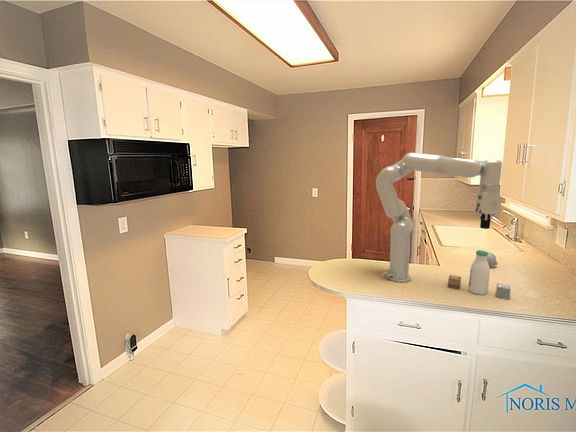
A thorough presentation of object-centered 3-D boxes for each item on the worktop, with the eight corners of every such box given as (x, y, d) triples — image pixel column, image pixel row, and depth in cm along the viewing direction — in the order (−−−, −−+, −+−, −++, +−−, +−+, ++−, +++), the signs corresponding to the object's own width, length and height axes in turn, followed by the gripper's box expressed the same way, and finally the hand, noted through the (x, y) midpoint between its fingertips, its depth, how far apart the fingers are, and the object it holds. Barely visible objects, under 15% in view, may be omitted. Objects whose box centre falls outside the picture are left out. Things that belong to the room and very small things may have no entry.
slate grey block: (509, 300, 134) (510, 289, 133) (495, 297, 137) (497, 286, 136) (508, 295, 138) (510, 285, 137) (495, 293, 141) (497, 283, 140)
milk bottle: (491, 293, 140) (496, 253, 136) (478, 296, 138) (483, 254, 134) (476, 287, 147) (481, 248, 144) (464, 289, 145) (468, 249, 141)
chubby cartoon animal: (474, 270, 177) (471, 258, 174) (488, 260, 180) (485, 248, 177) (485, 274, 170) (482, 261, 168) (500, 264, 173) (497, 251, 170)
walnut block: (459, 290, 145) (460, 280, 144) (447, 287, 148) (448, 277, 147) (460, 286, 149) (461, 276, 148) (449, 284, 152) (449, 274, 151)
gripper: (484, 189, 128) (479, 231, 131) (509, 188, 132) (504, 228, 136) (468, 188, 135) (464, 228, 138) (493, 186, 139) (489, 225, 143)
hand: (484, 228), depth 137 cm, fingers closed
